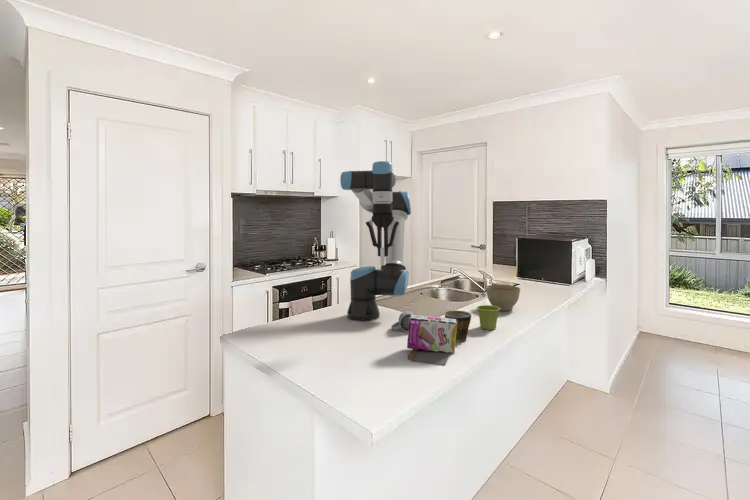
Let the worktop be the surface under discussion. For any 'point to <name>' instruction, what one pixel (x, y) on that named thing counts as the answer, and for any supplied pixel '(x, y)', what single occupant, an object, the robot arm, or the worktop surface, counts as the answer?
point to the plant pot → (488, 316)
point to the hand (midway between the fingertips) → (383, 264)
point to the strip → (412, 354)
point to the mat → (431, 357)
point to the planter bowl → (503, 296)
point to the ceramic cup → (460, 323)
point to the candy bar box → (432, 333)
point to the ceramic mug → (402, 321)
